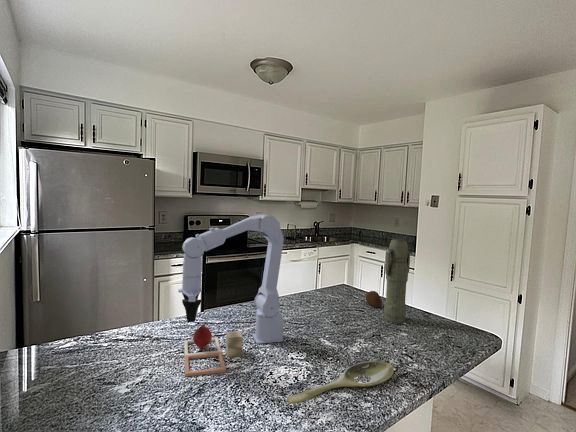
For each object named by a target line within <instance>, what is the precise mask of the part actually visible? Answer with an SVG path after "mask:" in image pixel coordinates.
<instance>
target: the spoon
mask: <svg viewBox="0 0 576 432" xmlns="http://www.w3.org/2000/svg"><path fill="white" fill-rule="evenodd" d="M394 372H395V369H394V367H393V366H392V365H391V364H390V363H386V362H384V361H378V360H374V361H373V360H370V361H364V362H359V363H355V364H353V365H351V366H348V368H346V369H345V370H343V372H342V374H340V376H339V377H337V378H336V379H335V380H333V381H331V382H328V383H327V384H323V385H320V386H316V387H313V388H310V389H307V390H305V391H301V392H299V393H295V394H292V395H290V396H288V397H287V398H286V402H287V404H288V403H289V404H290V405H291V404H293V405H295V404H298V403H302V402H305V401H308V400H310V399H313V398H315V397H316V396H318V395H320V394H322V393H324V392H327V391H328V390H331V389H337V388H343V387H344V388H345V387H346V388H367V387H374V386H377V385H380V384H384V383H385V382H387V381H389V379H391V378H392V377H393V375H394ZM358 376H366V377H369V378H370V379H369V381H366V382H357V381H355V378H356V377H358Z"/></svg>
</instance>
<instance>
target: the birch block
mask: <svg viewBox="0 0 576 432" xmlns="http://www.w3.org/2000/svg"><path fill="white" fill-rule="evenodd" d="M225 333H226V336H225V353H226V356H227V357H228V358H230V357H231V358H232V357H240V356H243V340H244V339H243V338H244V337H243V334H242V332H241V330H237V331H227V332H225Z"/></svg>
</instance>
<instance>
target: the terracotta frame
mask: <svg viewBox="0 0 576 432" xmlns="http://www.w3.org/2000/svg"><path fill="white" fill-rule="evenodd" d="M212 357H213V358H215V357H218V361H219V365H220V367H217V368H210V369H201V370H192V371H190V369H189V360H192V359H193V360H194V359H202V358H203V359H204V358H212ZM226 371H227V369H226V364H225V362H224V357H223V353H222V351H221V352H214V353H204V354H194V355H185V354H184V377H185V378H186V377H193V376H194V377H195V376H196V377H197V376H202V375H212V374H219V373H227V372H226Z"/></svg>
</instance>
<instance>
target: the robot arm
mask: <svg viewBox="0 0 576 432" xmlns="http://www.w3.org/2000/svg"><path fill="white" fill-rule="evenodd" d="M280 225H281V222H279V220H278V219H277V218H276V217H275V216H273V215H270V214H269V215H267V214H263V213H258V214H256V215H252V216H249V217H247V218H244V219H243V220H239V221H237V222H235V223H233V224H231V225H229V226H226V227H225V228H222V229H220V228H219V227H210V228H209V229H208V230H207V231H205V232H203V233H200V234H199V233H197V234H195V237H192V236H191V237H188V238H186V239H185V241H184V242H183V243H182V246H181V248H182V251H183V252H184V253H183V258H182V259H183V261H182V284H181V285H182V286H181V287H182V288H178V290H177V291H178V293H181V294H182V296H183V298H184V299H183V298H182V299H181V300H182V305H183V308H184V310H185V316H186V321H187V323H195V321H196V318H197V312H198V309H199V307H200V306H201V303H202V299H198V298H199V296H200V293H201V292H202V266H203V264H202V262H203V261H202V255H203V253H204V252H208V251H210V250H212V249H215V248H217V247H219V246H222V245H224V243H225V241H226V239H229V238H231V237H234V236H236V235H239V234H242V233H244V232H246V231H252V232H253V231H254V232H258V233H259V234H261V235H262V236H263V237H264V239H265V240H266V241H267V248H266V256H265V262H264V268H263V269H264V270H263V276H262V280H261V281H262V283H261V286H260V287H259V288H258V292H257V294H256V296H255V297H254V305H255V307H256V308H257V309H256V314H255V333H251V334H252V337H253V339H254V341H255V343H256V344H257V345H258V344H259V345H260V344H270V343H281V342H284V338H283V337H284V316H283V314H282V313H281V312H279V311H280V308H281V307H280V302H279V301H280V300H279V298H280V294H279V292H278V289H277V288H278V280H279V273H280V269H281V261H282V254H283V249H284V241H285V239H284V238H285V237H284V234H283V231H282V229H281V226H280Z"/></svg>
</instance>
